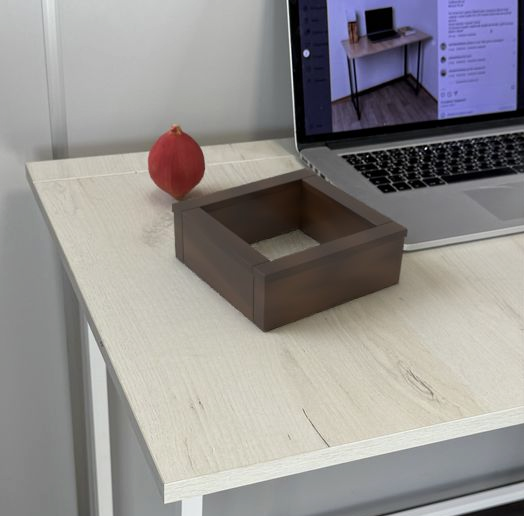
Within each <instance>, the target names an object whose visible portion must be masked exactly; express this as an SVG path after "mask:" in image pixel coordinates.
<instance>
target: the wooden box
mask: <svg viewBox="0 0 524 516" xmlns="http://www.w3.org/2000/svg"><path fill="white" fill-rule="evenodd" d="M171 213H173V231H174V256H175V258H176V259H177V260H178V261H180V262H181V263H182V264H183V265H184V266H186V267H187V268H188V269H189V270H190V271H191V272H192V273H194V275H196V276H197V277H198V278H200V279H201V280H202V281H203V282H204V283H205V284H207V285H208V286H209V287H210V288H211V289H213V290H214V291H215V292H216V293H217V294H218V295H219V296H221V297H222V298H223V299H224V300H226V301H227V302H228V303H229V304H230V305H231V306H232V307H234V308H235V309H236V310H237V311H238V312H240V314H242V315H243V316H244V317H245V318H247V319H248V320H249V321H250V322H251V323H253V324H254V325H255V326H256V327H257V328H258V329H260V330H261V331H262V332H263V333H265V332H268V331H271V330H273V329H276V328H279V327H281V326H284V325H287V324H290V323H292V322H296V321H298V320H301V319H304V318H307V317H308V316H311V315H314V314H317V313H319V312H323V311H325V310H328V309H331V308H334V307H336V306H339V305H342V304H344V303H347V302H350V301H353V300H355V299H358V298H362V297H363V296H366V295H369V294H371V293H375V292H377V291H380V290H383V289H385V288H389V287H391V286H393V285H396V284H399V283H400V277H401V271H402V264H403V257H404V256H403V255H404V247H405V240H406V238H407V236H408V228H407V227H405V226H403V225H401V224H400V223H398V222H397V221H395V220H393V219H391V218H390V217H388V216H386V215H385V214H383V213H381V212H380V211H378V210H377V209H375V208H373V207H371V206H370V205H368V204H367V203H365V202H364V201H362V200H360V199H358V198H356V197H355V196H353V195H352V194H350V193H348V192H346V191H345V190H343V189H341V188H340V187H338V186H336V185H334V184H333V183H332V182H329V181H328V180H326V179H324V178H323V177H321V176H320V175H318V174H316V173H315V172H313V171H311V170H310V169H309V168H306V167H303V168H300V169H297V170H293V171H289V172H285V173H281V174H278V175H274V176H271V177H267V178H263V179H259V180H256V181H252V182H248V183H244V184H241V185H237V186H236V185H235V186H233V187H230V188H229V187H228V188H226V189H221V190H218V191H214V192H211V193H207V194H203V195H199V196H196V197H191V198H188V199H184V200H181V201H177V202H174V203H173V202H172V203H171ZM296 230H300V231H301V232H303V233H304V234H306V235H308V236H309V237H310V238H312V239H314V240H315V241H317V242H318V243H319V245H315V246H312V247H309V248H306V249H303V250H299V251H297V252H293V253H290V254H287V255H285V256H284V255H283V256H281V257H278V258H275V259H272V260H271V259H269V258H268V257H266V256H265V255H264V254H263V253H261V252H260V251H259V250H257V249H256V248H254V247H253V246H252V245H251V244H254V243H258V242H260V241H263V240H267V239H270V238H273V237H276V236H279V235H282V234H287V233H290V232H293V231H296Z"/></svg>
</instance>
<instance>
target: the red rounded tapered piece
mask: <svg viewBox="0 0 524 516" xmlns="http://www.w3.org/2000/svg"><path fill="white" fill-rule="evenodd" d="M205 160H206V159H205V154H204V151H203V149H202V147H201V146H200V145H199V143H198V142H197V141H196V140H195V139H194V138H193V137H192V135H189V134H188V133H186V132H184V131H183V130H182V128H181V124H176V123H174V124H172V125H171V127H170V129H169V130H168V131H166V132H164V134H161V136H159V137H158V139H156V141H155V142H154V143H153V145H152V146H151V147H150V150H149V152H148V156H147V170H148V174H149V177H150V179H151V180H152V182H153V183H154V185H156V186H157V188H159V189H160V190H161V191H163V192H164V193H166V194H168V195H169V196H171V198H172V199H176V200H180V199H183V198H185V196H187V194H189V193H190V192H191V191H192V190H193V189H195V188H196V187H197V186H198V185H199V184H200V183H201V182H202V180H203V178H204V176H205V171H206V161H205Z"/></svg>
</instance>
